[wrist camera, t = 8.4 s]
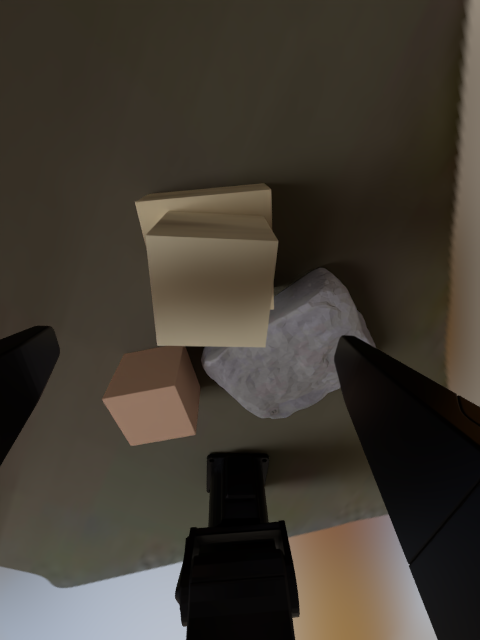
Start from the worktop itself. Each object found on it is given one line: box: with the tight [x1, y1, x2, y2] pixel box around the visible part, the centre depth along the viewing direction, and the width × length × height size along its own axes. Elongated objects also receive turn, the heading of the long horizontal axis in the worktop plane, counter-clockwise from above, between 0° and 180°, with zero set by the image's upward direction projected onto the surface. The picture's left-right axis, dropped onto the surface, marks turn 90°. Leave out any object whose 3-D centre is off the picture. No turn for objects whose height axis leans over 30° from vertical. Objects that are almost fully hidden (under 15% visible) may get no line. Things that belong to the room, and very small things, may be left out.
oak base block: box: [135, 183, 274, 310], centre depth 18 cm, size 7×7×4 cm
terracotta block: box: [102, 346, 200, 446], centre depth 22 cm, size 5×5×5 cm
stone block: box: [201, 268, 376, 419], centre depth 23 cm, size 12×5×10 cm
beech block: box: [145, 211, 278, 347], centre depth 14 cm, size 5×5×5 cm
